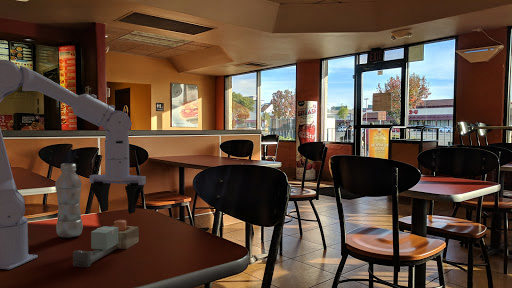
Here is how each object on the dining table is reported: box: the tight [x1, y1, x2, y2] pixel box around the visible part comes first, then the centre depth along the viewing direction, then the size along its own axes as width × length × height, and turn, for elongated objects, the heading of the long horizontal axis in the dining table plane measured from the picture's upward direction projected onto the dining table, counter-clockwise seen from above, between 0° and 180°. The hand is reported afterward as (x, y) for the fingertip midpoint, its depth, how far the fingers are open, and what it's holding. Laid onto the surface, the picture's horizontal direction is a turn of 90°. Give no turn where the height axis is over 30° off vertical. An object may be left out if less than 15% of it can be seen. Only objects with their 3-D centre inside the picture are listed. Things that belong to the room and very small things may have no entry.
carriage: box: [90, 225, 118, 250], centre depth 92 cm, size 4×5×4 cm
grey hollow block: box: [111, 225, 140, 250], centre depth 99 cm, size 7×6×4 cm
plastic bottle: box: [54, 162, 84, 239], centre depth 104 cm, size 6×7×20 cm
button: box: [113, 219, 127, 232], centre depth 99 cm, size 3×3×4 cm
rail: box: [72, 244, 119, 268], centre depth 89 cm, size 4×13×3 cm, turn 169°
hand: (118, 212), depth 97 cm, fingers open, 7 cm apart
